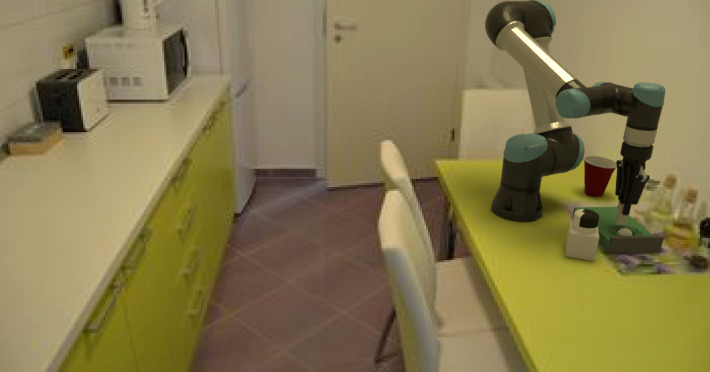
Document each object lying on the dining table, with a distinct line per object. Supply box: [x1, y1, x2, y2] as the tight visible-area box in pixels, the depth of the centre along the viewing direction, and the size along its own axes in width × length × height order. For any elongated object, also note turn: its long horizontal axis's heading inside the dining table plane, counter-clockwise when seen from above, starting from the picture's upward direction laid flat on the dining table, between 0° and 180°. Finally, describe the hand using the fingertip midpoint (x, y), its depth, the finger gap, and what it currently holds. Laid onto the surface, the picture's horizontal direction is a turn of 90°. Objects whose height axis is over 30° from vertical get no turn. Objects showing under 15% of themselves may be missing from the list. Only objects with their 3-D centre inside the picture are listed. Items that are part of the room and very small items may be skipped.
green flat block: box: [572, 206, 664, 254], centre depth 163 cm, size 14×23×4 cm, turn 4°
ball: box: [617, 228, 633, 236], centre depth 157 cm, size 4×4×4 cm
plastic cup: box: [583, 154, 617, 198], centre depth 188 cm, size 11×11×12 cm
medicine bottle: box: [565, 209, 599, 262], centre depth 150 cm, size 7×7×12 cm
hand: (620, 223), depth 160 cm, fingers closed
